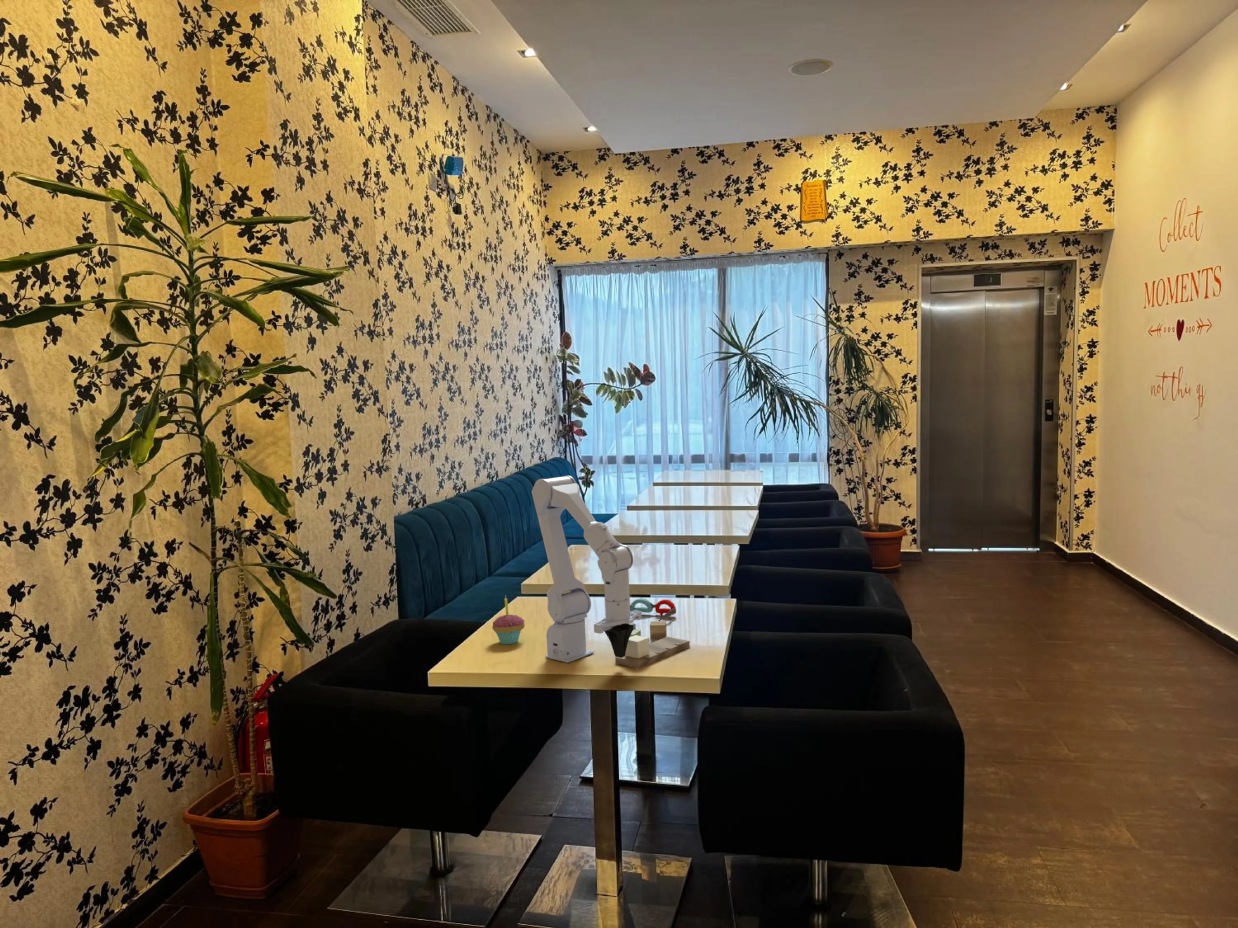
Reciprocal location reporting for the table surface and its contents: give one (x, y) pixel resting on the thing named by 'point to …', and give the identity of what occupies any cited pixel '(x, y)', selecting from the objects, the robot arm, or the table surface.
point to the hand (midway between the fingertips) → (619, 656)
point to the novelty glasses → (651, 606)
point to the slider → (637, 646)
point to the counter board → (655, 652)
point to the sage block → (635, 633)
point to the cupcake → (508, 627)
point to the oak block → (658, 630)
